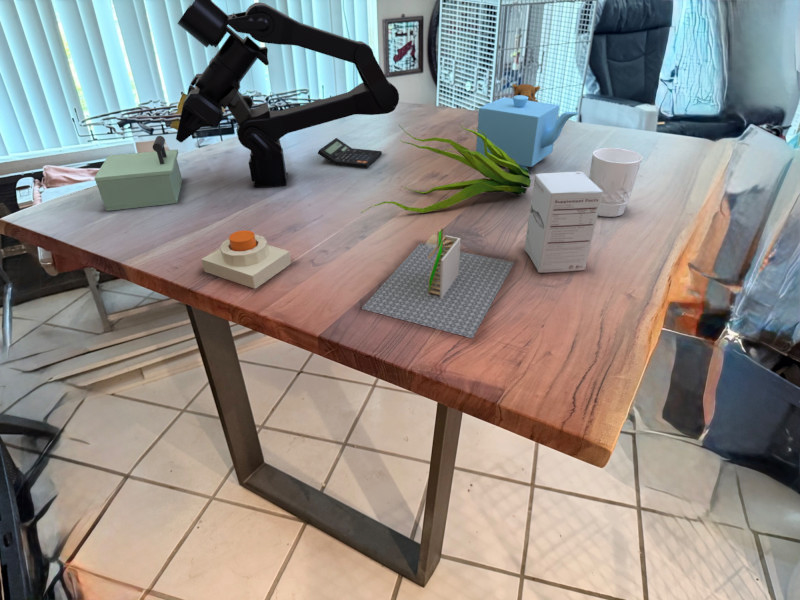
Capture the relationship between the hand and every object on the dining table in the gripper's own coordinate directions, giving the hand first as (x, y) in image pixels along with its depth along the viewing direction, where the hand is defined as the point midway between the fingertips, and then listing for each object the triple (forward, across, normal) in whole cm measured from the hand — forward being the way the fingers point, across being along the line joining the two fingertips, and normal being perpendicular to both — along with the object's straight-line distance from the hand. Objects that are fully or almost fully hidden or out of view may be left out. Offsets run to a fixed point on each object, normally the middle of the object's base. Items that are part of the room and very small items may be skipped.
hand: (180, 133), depth 96 cm
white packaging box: (-31, -45, -47) cm, 72 cm away
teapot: (-41, -5, -57) cm, 70 cm away
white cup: (-43, -31, -59) cm, 80 cm away
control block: (+1, -35, -15) cm, 38 cm away
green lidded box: (+14, 0, -2) cm, 14 cm away
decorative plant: (-25, -22, -41) cm, 53 cm away
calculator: (-16, +9, -32) cm, 36 cm away
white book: (-18, -47, -34) cm, 61 cm away
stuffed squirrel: (-46, +12, -62) cm, 78 cm away
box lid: (+10, 0, +2) cm, 10 cm away
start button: (-2, -35, -12) cm, 37 cm away
